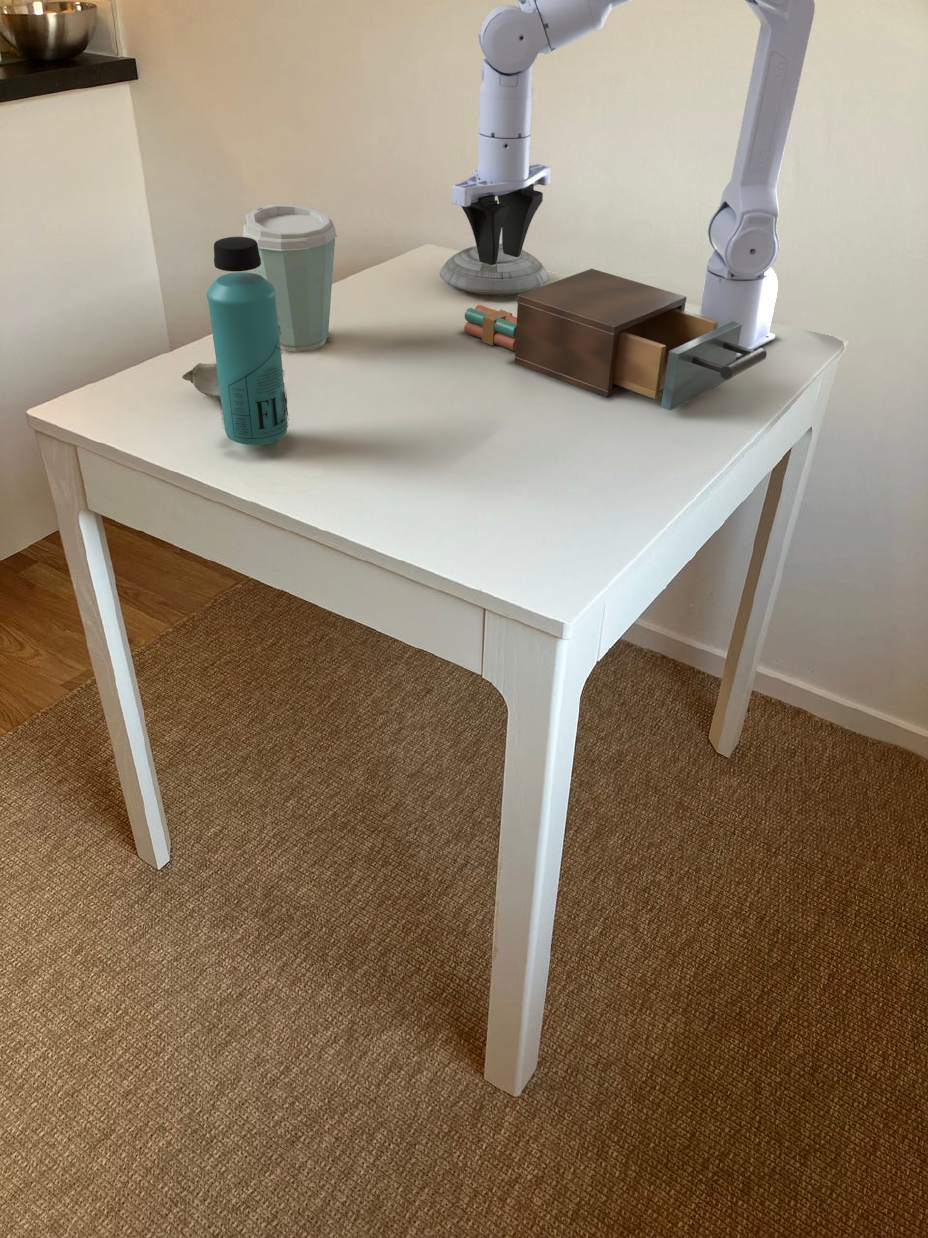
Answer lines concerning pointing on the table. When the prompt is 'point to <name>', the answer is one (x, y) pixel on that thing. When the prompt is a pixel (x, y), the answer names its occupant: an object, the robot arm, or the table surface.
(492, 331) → the teal and pink cylinders
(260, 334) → the beverage bottle
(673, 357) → the drawer
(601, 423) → the table surface
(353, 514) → the table surface
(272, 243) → the disposable coffee cup
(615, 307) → the cabinet
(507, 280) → the flying saucer
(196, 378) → the seashell
